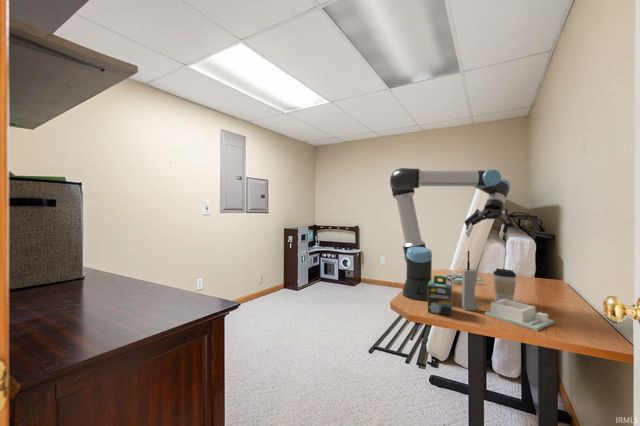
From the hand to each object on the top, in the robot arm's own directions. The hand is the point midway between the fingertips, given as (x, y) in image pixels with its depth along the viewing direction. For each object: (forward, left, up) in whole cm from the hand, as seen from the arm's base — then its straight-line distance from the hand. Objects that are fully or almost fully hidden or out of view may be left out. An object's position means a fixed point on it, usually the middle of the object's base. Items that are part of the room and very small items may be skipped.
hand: (483, 236), depth 129 cm
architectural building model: (+17, -7, -31) cm, 36 cm away
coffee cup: (+3, +12, -31) cm, 33 cm away
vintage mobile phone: (+1, -13, -31) cm, 33 cm away
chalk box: (-4, -26, -31) cm, 40 cm away
